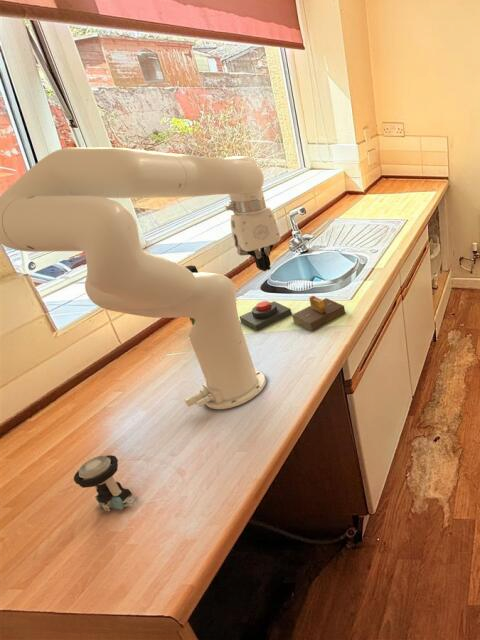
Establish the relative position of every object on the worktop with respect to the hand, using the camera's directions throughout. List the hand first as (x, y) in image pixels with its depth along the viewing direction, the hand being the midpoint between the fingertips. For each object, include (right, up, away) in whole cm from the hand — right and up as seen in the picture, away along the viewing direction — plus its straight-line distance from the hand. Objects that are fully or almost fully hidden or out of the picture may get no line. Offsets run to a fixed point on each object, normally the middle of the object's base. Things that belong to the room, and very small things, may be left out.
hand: (264, 269), depth 111 cm
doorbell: (-9, -16, +16) cm, 24 cm away
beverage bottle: (-25, -18, +11) cm, 33 cm away
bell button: (-9, -13, +14) cm, 21 cm away
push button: (-2, -41, -39) cm, 57 cm away
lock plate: (+8, -16, +16) cm, 24 cm away
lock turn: (+8, -13, +15) cm, 22 cm away
